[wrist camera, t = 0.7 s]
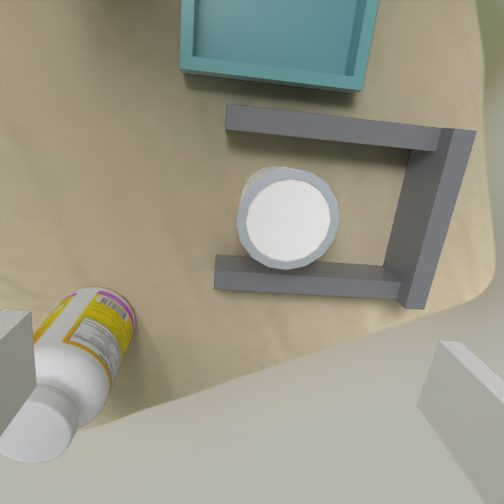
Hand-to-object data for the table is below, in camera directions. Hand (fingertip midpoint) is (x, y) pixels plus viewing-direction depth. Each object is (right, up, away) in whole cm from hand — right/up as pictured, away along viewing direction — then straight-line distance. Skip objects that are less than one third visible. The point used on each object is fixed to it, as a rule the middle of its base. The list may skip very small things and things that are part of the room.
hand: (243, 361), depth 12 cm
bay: (+6, +8, +19) cm, 21 cm away
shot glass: (+2, +8, +18) cm, 20 cm away
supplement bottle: (-13, -2, +21) cm, 25 cm away
